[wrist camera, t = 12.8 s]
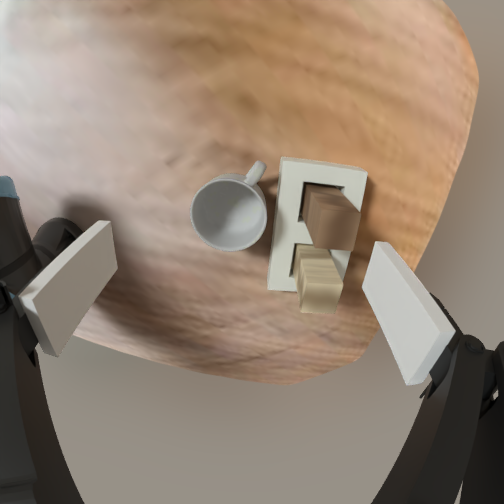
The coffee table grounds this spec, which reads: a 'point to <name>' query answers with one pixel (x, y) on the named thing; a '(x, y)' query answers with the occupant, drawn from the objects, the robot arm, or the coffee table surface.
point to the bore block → (291, 221)
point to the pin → (316, 279)
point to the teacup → (230, 210)
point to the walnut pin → (329, 217)
